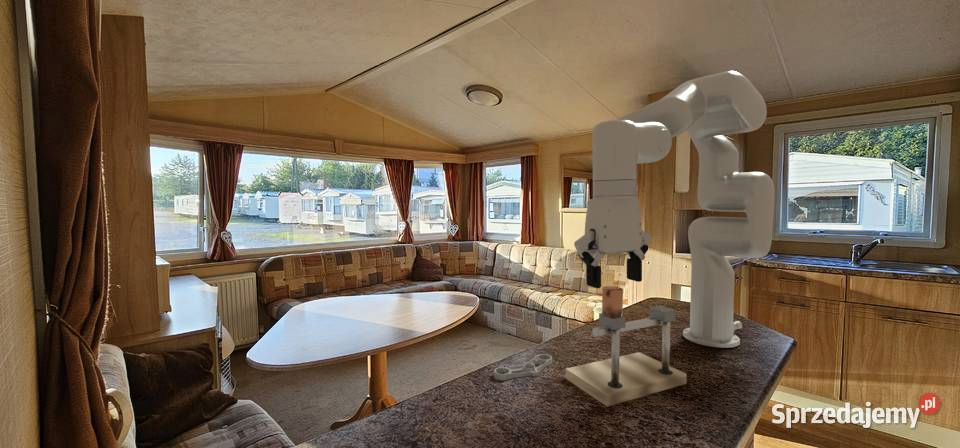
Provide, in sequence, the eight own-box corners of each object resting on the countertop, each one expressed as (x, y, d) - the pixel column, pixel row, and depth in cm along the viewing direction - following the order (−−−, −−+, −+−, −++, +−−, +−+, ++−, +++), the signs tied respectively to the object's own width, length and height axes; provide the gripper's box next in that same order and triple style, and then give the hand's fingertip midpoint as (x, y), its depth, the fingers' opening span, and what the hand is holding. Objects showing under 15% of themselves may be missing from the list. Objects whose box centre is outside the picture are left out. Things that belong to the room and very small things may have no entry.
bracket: (485, 361, 84) (547, 351, 89) (485, 370, 84) (547, 359, 89) (498, 376, 77) (564, 364, 82) (498, 386, 77) (564, 373, 82)
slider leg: (611, 374, 75) (613, 285, 74) (625, 382, 72) (627, 289, 71) (597, 378, 74) (598, 287, 73) (610, 386, 70) (612, 291, 69)
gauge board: (638, 360, 87) (638, 351, 87) (686, 383, 76) (686, 373, 76) (565, 378, 79) (565, 368, 79) (607, 406, 68) (607, 395, 68)
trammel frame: (660, 364, 81) (662, 305, 80) (675, 371, 77) (677, 309, 76) (589, 382, 73) (590, 317, 72) (603, 390, 70) (604, 322, 69)
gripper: (634, 190, 78) (633, 274, 79) (562, 192, 70) (563, 285, 72) (665, 189, 71) (665, 281, 72) (590, 191, 64) (590, 294, 65)
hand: (614, 283), depth 72 cm, fingers open, 9 cm apart
